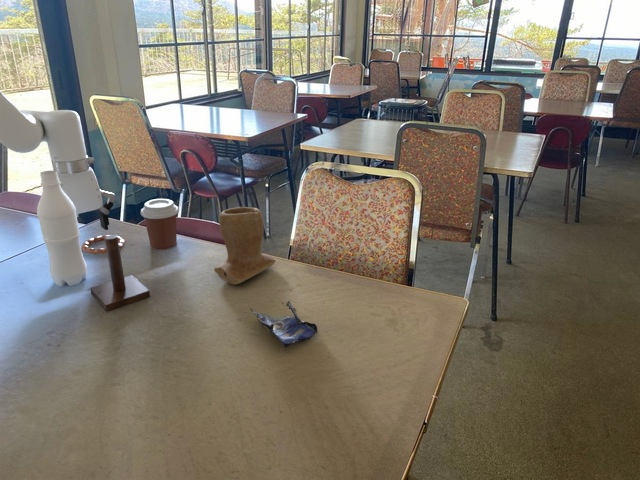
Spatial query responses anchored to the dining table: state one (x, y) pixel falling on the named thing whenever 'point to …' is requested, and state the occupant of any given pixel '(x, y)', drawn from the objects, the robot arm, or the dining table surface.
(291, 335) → the snack package
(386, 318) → the dining table surface
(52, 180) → the water bottle
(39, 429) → the dining table surface
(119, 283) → the ring toss peg
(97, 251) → the hanging ring
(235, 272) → the stone cup
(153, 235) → the coffee cup
